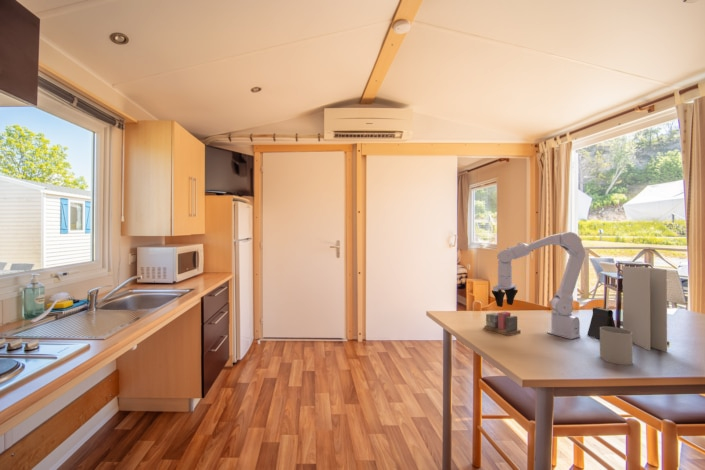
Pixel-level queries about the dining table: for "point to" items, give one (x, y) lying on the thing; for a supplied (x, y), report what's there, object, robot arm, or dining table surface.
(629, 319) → the brochure
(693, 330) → the dining table surface
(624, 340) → the cup
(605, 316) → the door stopper
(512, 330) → the grey slotted block
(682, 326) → the dining table surface
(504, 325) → the burgundy book
